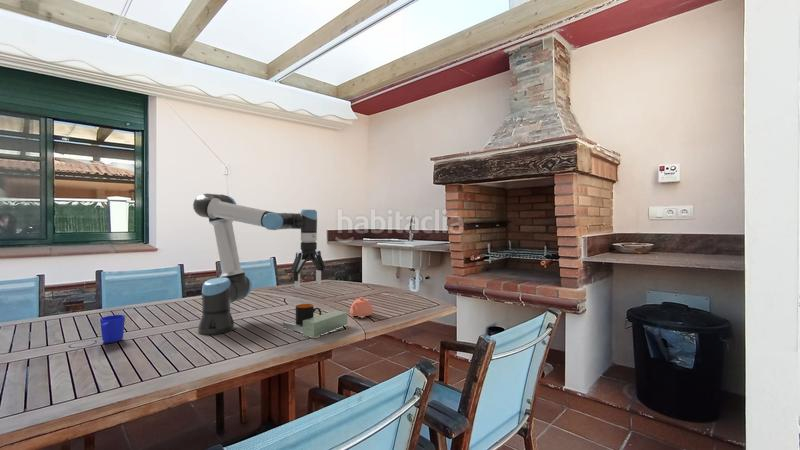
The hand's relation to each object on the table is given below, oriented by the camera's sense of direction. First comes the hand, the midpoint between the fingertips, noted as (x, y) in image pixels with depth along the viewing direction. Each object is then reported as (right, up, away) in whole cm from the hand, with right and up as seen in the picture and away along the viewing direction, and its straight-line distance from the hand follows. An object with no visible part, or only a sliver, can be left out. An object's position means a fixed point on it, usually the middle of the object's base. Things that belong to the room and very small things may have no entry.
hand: (308, 285), depth 175 cm
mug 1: (-77, -20, -23) cm, 83 cm away
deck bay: (+3, -20, -1) cm, 20 cm away
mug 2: (0, -20, +1) cm, 20 cm away
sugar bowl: (+23, -20, +20) cm, 36 cm away
